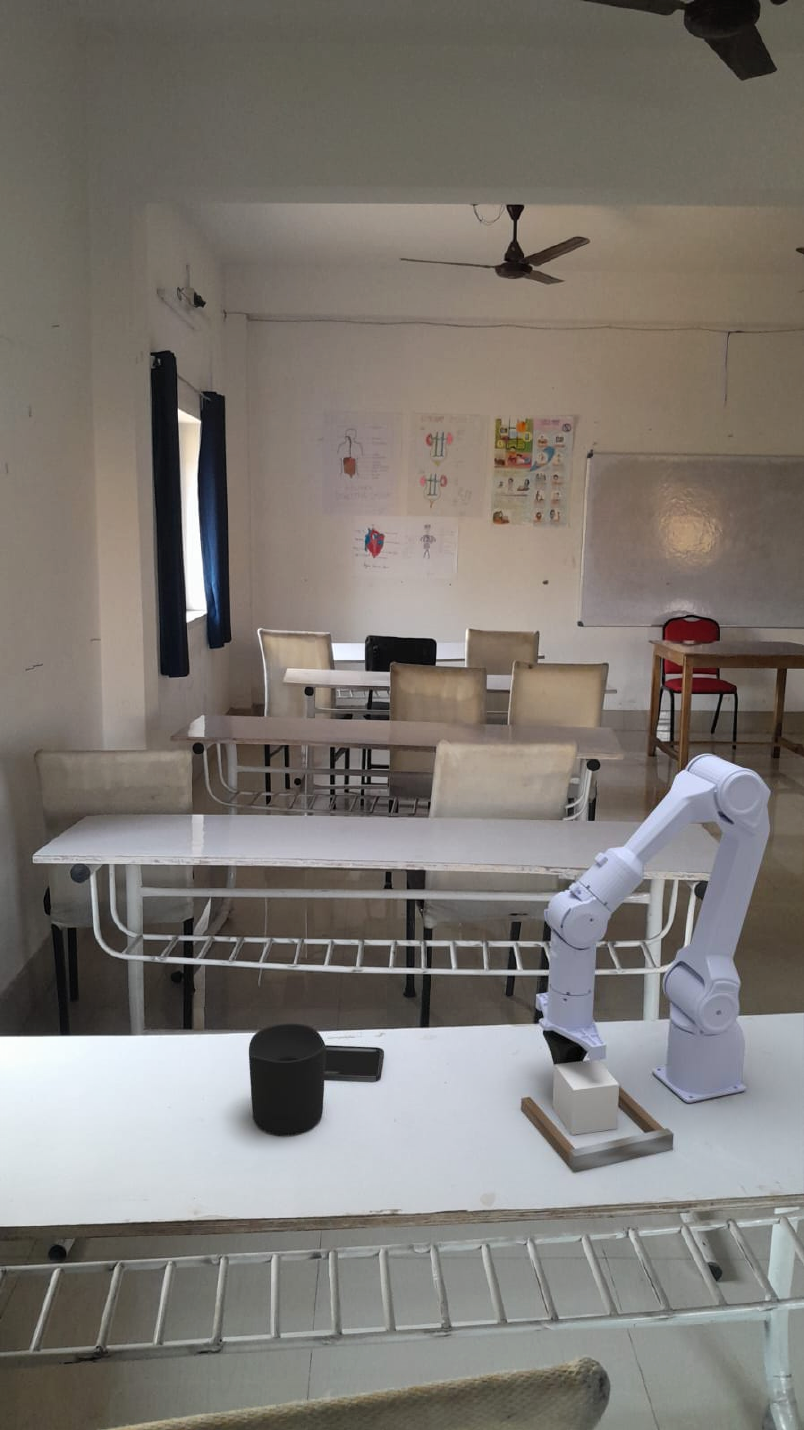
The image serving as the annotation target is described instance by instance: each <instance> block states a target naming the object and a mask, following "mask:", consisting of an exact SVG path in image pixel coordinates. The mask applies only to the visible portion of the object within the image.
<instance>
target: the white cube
mask: <svg viewBox="0 0 804 1430" xmlns="http://www.w3.org/2000/svg"><path fill="white" fill-rule="evenodd" d="M553 1068H554V1069H553V1088H552V1089H553V1091H552V1109H553V1110H554V1113H556V1115H557V1116H558V1118H559V1119H560V1121H561V1122H562V1124H563V1125H564V1127H565V1128H566V1130H567V1131H568V1133H569V1134H570V1135H571V1136H575V1135H582V1134H583V1135H584V1134H590V1133H597V1132H603V1131H611V1130H617V1127H618V1111H619V1109H618V1108H619V1106H618V1097H619V1086H620V1084H619V1082H618V1081H617V1080H616V1079H615V1077H613V1075H612V1074H611V1072H610V1071H608V1069H607V1068H606V1067H605V1065H604V1064H603V1063H602V1062H601V1060H596V1061H591V1060H590V1059H587V1060H583V1061H579V1062H570V1063H562V1064H553Z"/></svg>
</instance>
